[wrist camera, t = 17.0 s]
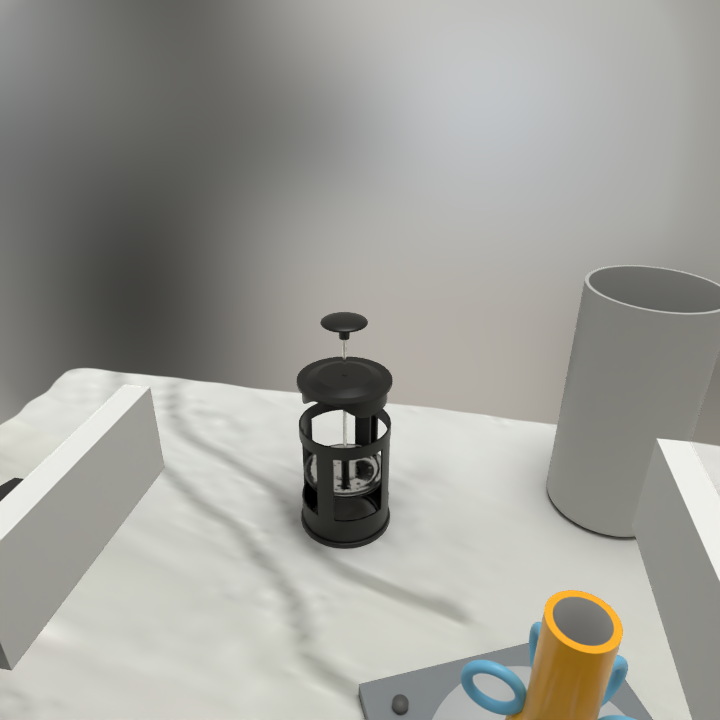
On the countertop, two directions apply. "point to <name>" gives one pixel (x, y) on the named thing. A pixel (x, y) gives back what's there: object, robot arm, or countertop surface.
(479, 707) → the grey plate with disc
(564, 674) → the orange ringed tube
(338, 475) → the french press
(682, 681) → the robot arm
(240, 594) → the countertop surface
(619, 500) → the cylinder vase
